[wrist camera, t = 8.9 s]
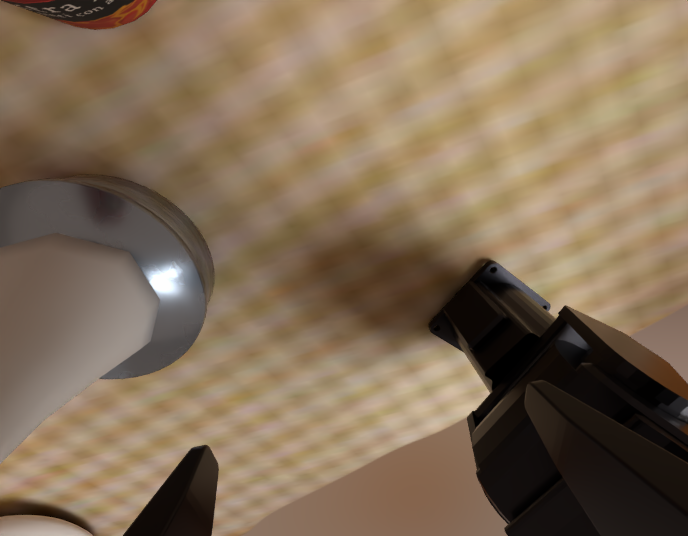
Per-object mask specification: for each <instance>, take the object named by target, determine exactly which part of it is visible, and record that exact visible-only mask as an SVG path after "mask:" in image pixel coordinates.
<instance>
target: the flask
mask: <svg viewBox="0 0 688 536" xmlns="http://www.w3.org/2000/svg"><path fill="white" fill-rule="evenodd" d="M159 303H160V299H159V297H158V295H157V294H156V292H155V291H154V289H153V288H152V286H151V285H150V283H149V282H148V280H147V278H146V277H145V275H144V274H143V272H142V271H141V269H140V268H139V266H138V264H137V263H136V261H135V260H134V258H133V257H132V255H131V254H130V252H128V251H124V250H120V249H116V248H112V247H109V246H105V245H101V244H97V243H94V242H90V241H86V240H82V239H78V238H75V237H71V236H67V235H63V234H59V233H53V234H49V235H45V236H41V237H38V238H34V239H30V240H27V241H23V242H19V243H16V244H12V245H8V246H4V247H1V248H0V464H1V463H2V462H3V461H4V460H5V459H6V458H7V457H8V456H9V455H10V454H11V453H12V452H13V451H14V450H15V449H16V448H17V447H18V446H19V445H20V444H21V443H22V442H23V441H24V440H25V439H26V438H27V437H28V436H29V435H30V434H31V433H32V432H33V431H34V430H35V429H36V428H37V427H38V426H39V425H40V424H41V423H42V422H43V421H44V420H45V419H46V418H48V417H49V416H50V415H52V414H53V413H54V412H56V411H57V410H58V409H59V408H61V407H62V406H63V405H65V404H66V403H67V402H69V401H70V400H71V399H73V398H74V397H75V396H77V395H78V394H79V393H80V392H82V391H83V390H84V389H86V388H87V387H88V386H90V385H91V384H92V383H94V382H95V381H96V380H97V379H99V378H100V377H101V376H103V375H104V374H106V373H107V372H109V371H110V370H111V369H113V368H114V367H116V366H117V365H119V364H120V363H121V362H123V361H124V360H126V359H127V358H129V357H130V356H131V355H133V354H134V353H136V352H137V351H138V350H140V349H141V348H142V347H144V346H145V345H146V344H148V343H149V342H150V341H151V337H152V333H153V329H154V324H155V320H156V316H157V312H158V308H159Z"/></svg>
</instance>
